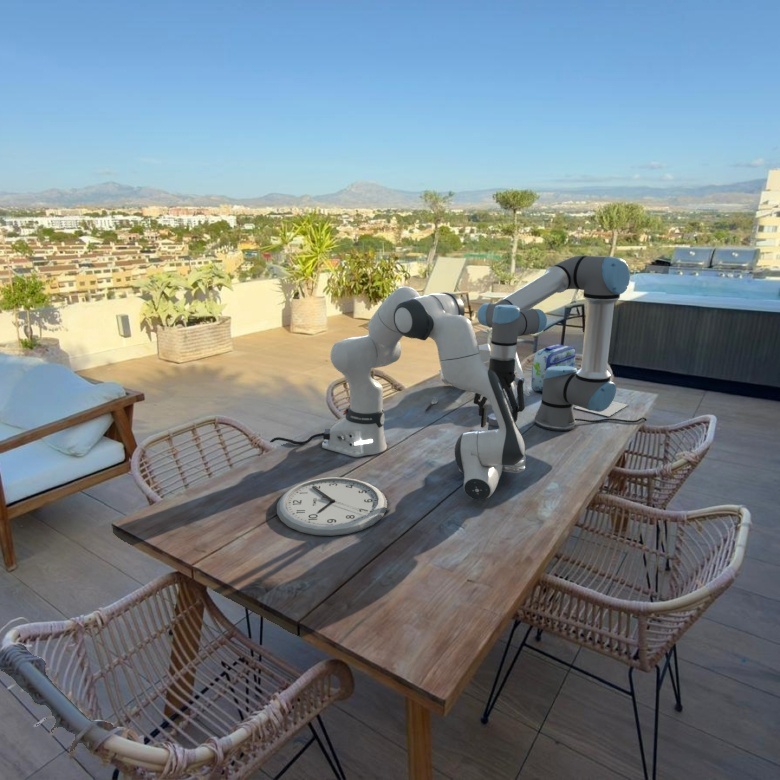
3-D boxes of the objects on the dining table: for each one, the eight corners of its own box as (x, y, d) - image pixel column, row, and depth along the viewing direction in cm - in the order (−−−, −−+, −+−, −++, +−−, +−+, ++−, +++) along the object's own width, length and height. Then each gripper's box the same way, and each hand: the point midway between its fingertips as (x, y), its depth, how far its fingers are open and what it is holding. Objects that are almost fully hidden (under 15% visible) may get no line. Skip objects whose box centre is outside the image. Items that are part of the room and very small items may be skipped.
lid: (497, 417, 166) (498, 412, 166) (511, 423, 161) (512, 417, 161) (482, 421, 163) (483, 415, 162) (497, 427, 158) (497, 421, 157)
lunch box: (547, 397, 237) (552, 352, 231) (526, 391, 245) (531, 348, 238) (574, 386, 255) (580, 344, 249) (554, 381, 262) (559, 340, 256)
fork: (422, 411, 216) (422, 407, 215) (433, 400, 230) (433, 396, 230) (428, 412, 215) (429, 407, 215) (438, 401, 230) (439, 396, 229)
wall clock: (392, 527, 129) (268, 531, 127) (391, 533, 130) (269, 537, 127) (383, 473, 158) (282, 475, 155) (383, 478, 158) (282, 480, 156)
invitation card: (608, 416, 214) (573, 407, 224) (608, 416, 214) (573, 408, 224) (628, 404, 229) (594, 396, 238) (628, 405, 229) (594, 397, 238)
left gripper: (524, 462, 149) (529, 444, 161) (454, 450, 155) (464, 434, 168) (522, 482, 151) (527, 462, 163) (453, 470, 157) (463, 452, 170)
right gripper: (540, 359, 154) (533, 431, 161) (473, 350, 164) (468, 419, 170) (534, 364, 148) (527, 439, 155) (465, 355, 157) (460, 426, 164)
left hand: (495, 448), depth 165 cm, fingers closed on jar, 5 cm apart
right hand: (496, 428), depth 163 cm, fingers open, 8 cm apart
